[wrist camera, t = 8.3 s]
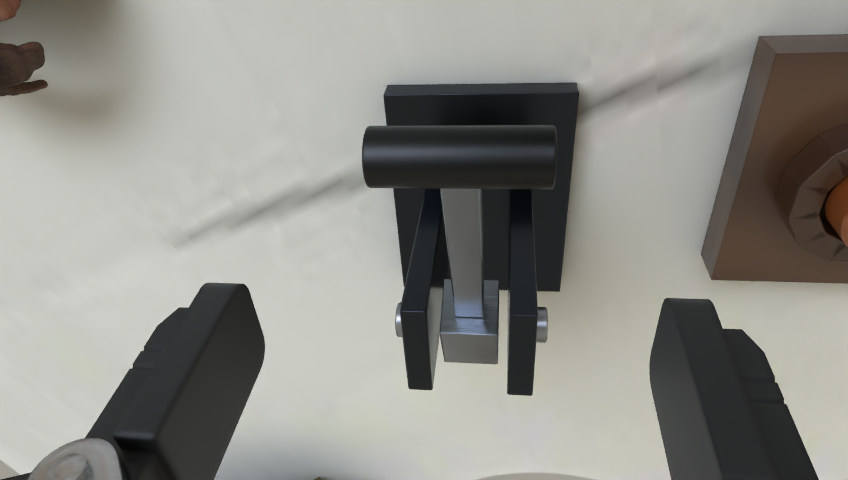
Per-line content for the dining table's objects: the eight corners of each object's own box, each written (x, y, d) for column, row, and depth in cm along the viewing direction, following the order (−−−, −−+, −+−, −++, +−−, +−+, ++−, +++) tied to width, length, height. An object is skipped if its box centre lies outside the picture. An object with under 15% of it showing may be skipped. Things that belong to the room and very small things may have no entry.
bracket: (387, 84, 30) (330, 225, 20) (576, 82, 28) (609, 230, 19) (406, 274, 37) (370, 443, 27) (558, 278, 36) (575, 456, 26)
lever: (369, 103, 17) (356, 170, 15) (555, 101, 16) (558, 172, 15) (416, 309, 27) (411, 360, 25) (531, 313, 26) (532, 366, 25)
